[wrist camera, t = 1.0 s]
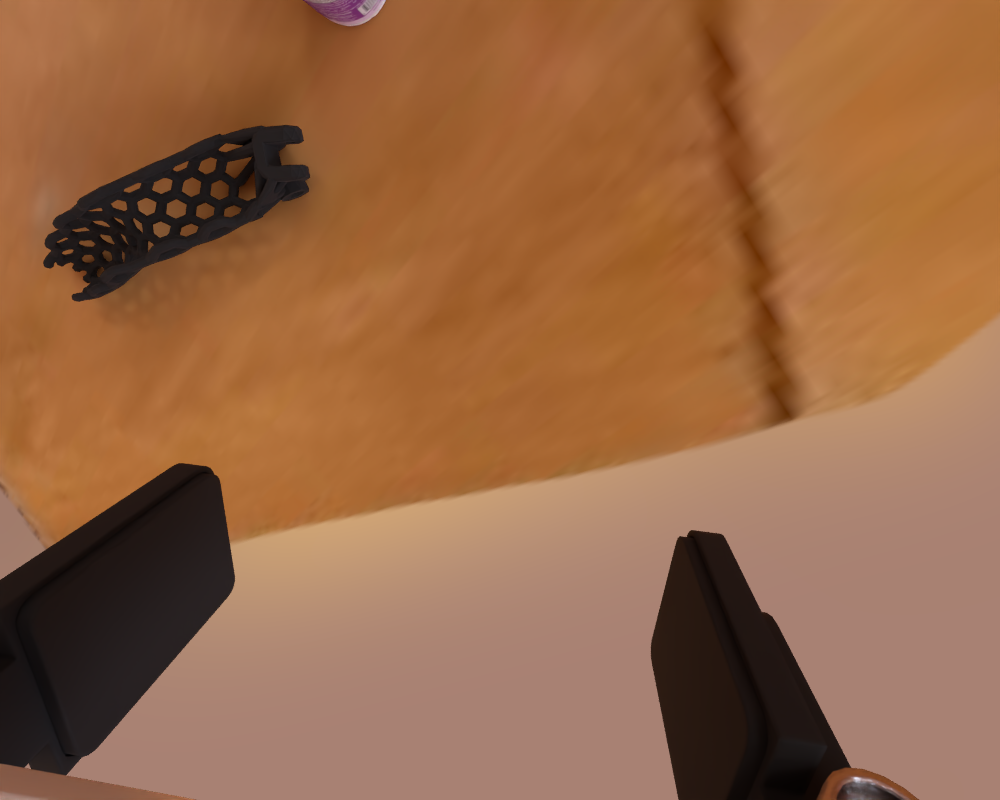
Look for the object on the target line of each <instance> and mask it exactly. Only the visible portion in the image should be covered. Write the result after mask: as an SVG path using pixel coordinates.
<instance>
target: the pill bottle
mask: <svg viewBox="0 0 1000 800" xmlns="http://www.w3.org/2000/svg"><path fill="white" fill-rule="evenodd" d="M303 1H305V2H306V3H307V4H309V5H310V6H311V7H312V8H314V9H315V10H316V11H317V12H319V13H320V14H322V15H323V16H325V17H326V18H328V19H329V20H331V21H333V22H335V23H337V24H341V25H345V26H356V25H361V24H363V23H365V22H367V21H369V20H370V19H371V18H372V17H374V16H376V15H377V14H378V12H379V11H380V9H381V8H382V6H383V5H384V3H385V1H386V0H303Z"/></svg>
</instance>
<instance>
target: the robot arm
mask: <svg viewBox="0 0 1000 800" xmlns="http://www.w3.org/2000/svg"><path fill="white" fill-rule="evenodd" d="M234 582H235V575H234V568H233V562H232V555H231V549H230V542H229V536H228V529H227V523H226V516H225V510H224V504H223V497H222V491H221V484H220V480H219V478H218V476H216V475H214V473H213V471H212V470H211V468H209V467H207V466H200V465H192V464H184V463H178V464H176V465H174V466H172V467H171V468H169V469H168V470H166V471H165V472H163V473H162V474H160V475H159V476H157V477H156V478H154V479H153V480H151V481H150V482H148V483H147V484H145V485H143V486H142V487H140V488H139V489H137V490H136V491H134V492H133V493H131V494H130V495H128V496H127V497H125V498H124V499H122V500H121V501H119V502H118V503H116V504H115V505H113V506H112V507H110V508H109V509H107V510H106V511H104V512H103V513H101V514H99V515H98V516H96V517H95V518H93V519H92V520H90V521H89V522H87V523H86V524H84V525H83V526H81V527H80V528H78V529H77V530H75V531H74V532H72V533H71V534H69V535H68V536H66V537H65V538H63V539H62V540H60V541H59V542H57V543H55V544H54V545H52V546H51V547H49V548H48V549H46V550H45V551H43V552H42V553H40V554H39V555H37V556H36V557H34V558H33V559H31V560H30V561H28V562H27V563H25V564H24V565H22V566H21V567H19V568H18V569H16V570H15V571H13V572H11V573H10V574H8V575H7V576H5V577H4V578H2V579H1V580H0V800H194V799H189V798H184V797H179V796H173V795H168V794H163V793H158V792H152V791H147V790H141V789H136V788H131V787H125V786H120V785H114V784H109V783H103V782H97V781H92V780H87V779H81V778H77V777H71V776H66V775H67V774H68V772H69V771H70V770H71V769H72V768H73V767H74V766H75V764H76V763H77V762H78V761H79V760H80V759H81V758H82V757H84V756H87V755H89V754H90V753H92V752H93V751H95V750H96V749H97V748H98V747H99V745H100V744H101V743H102V742H103V741H104V740H105V739H106V737H107V736H108V735H109V734H110V733H111V731H112V730H113V729H114V728H115V727H116V726H117V725H118V724H119V722H120V721H121V720H122V719H123V718H124V717H125V715H126V714H127V713H128V712H129V710H131V708H132V707H133V706H134V705H135V704H136V703H137V702H138V700H139V699H140V698H141V697H142V696H143V695H144V693H145V692H146V691H147V690H148V689H149V688H150V686H151V685H152V684H153V683H154V682H155V681H156V680H157V678H158V677H159V676H160V675H161V674H162V673H163V671H164V670H165V669H166V668H167V667H168V666H169V664H170V663H171V662H172V661H173V660H174V659H175V658H176V656H177V655H178V654H179V653H180V652H181V651H182V649H183V648H184V647H185V646H186V645H187V643H188V642H189V641H190V640H191V639H192V638H193V637H194V636H195V634H196V633H197V632H198V631H199V630H200V629H201V627H202V626H203V625H204V624H205V623H206V622H207V621H208V619H209V618H210V617H211V616H212V615H213V614H214V612H215V611H216V610H217V609H218V608H219V607H220V605H221V604H222V603H223V602H224V601H225V600H226V599H227V597H228V596H229V595H230V593H231V591H232V589H233V586H234ZM651 660H652V666H653V671H654V676H655V681H656V686H657V691H658V697H659V702H660V707H661V712H662V716H663V722H664V727H665V732H666V738H667V743H668V748H669V753H670V758H671V763H672V768H673V773H674V779H675V784H676V789H677V794H678V799H679V800H919V799H917V798H916V797H915V796H913V795H912V794H911V793H910V792H908V791H907V790H906V789H905V788H903V787H901V786H900V785H898V784H896V783H894V782H893V781H891V780H889V779H887V778H886V777H884V776H881V775H879V774H876V773H873V772H870V771H867V770H864V769H857V768H851V767H850V765H849V763H848V761H847V759H846V757H845V755H844V753H843V751H842V749H841V747H840V745H839V743H838V741H837V739H836V737H835V736H834V734H833V732H832V730H831V728H830V726H829V724H828V722H827V720H826V718H825V716H824V714H823V712H822V710H821V709H820V706H819V705H818V703H817V701H816V699H815V697H814V695H813V693H812V691H811V689H810V687H809V685H808V683H807V681H806V679H805V677H804V675H803V673H802V671H801V670H800V668H799V666H798V664H797V662H796V660H795V658H794V656H793V654H792V652H791V650H790V648H789V646H788V644H787V642H786V640H785V638H784V637H783V635H782V633H781V631H780V629H779V627H778V625H777V623H776V622H775V620H774V619H773V617H772V616H770V615H769V614H768V613H765V612H761V610H760V608H759V606H758V604H757V602H756V600H755V598H754V596H753V594H752V592H751V590H750V588H749V586H748V584H747V582H746V579H745V578H744V576H743V573H742V571H741V569H740V567H739V565H738V563H737V561H736V559H735V557H734V555H733V553H732V551H731V549H730V547H729V545H728V543H727V541H726V539H725V538H724V536H723V535H722V534H717V533H709V532H701V531H694V530H691V531H690V532H689V533H688V535H687V537H681V536H680V537H679V538H678V540H677V542H676V546H675V549H674V553H673V557H672V561H671V565H670V570H669V573H668V577H667V581H666V585H665V590H664V593H663V597H662V601H661V606H660V609H659V613H658V617H657V622H656V625H655V630H654V634H653V637H652V643H651ZM28 763H29V765H30V767H31V769H28V768H24V767H25V766H26V765H27V764H28Z"/></svg>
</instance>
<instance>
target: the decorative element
mask: <svg viewBox="0 0 1000 800" xmlns="http://www.w3.org/2000/svg"><path fill="white" fill-rule="evenodd" d="M303 141H304V139H303V135H302V130H301V129H300V128H299V127H298V126H290V125H282V126H270V127H264V126H257V127H251V128H246V129H242V130H239V131H235V132H232V133H229V134H226V135H221V134H218V135H215V136H212V137H210V138H207V139H204V140H202V141H200V142H198V143H196V144H194V145H192V146H190V147H188V148H186V149H185V150H183V151H181V152H178V153H176V154H174V155H172V156H170V157H167V158H165V159H162V160H160V161H157V162H155V163H152V164H150V165H148V166H146V167H144V168H141V169H139V170H137V171H135V172H133V173H131V174H129V175H127V176H124V177H122V178H120V179H118V180H116V181H113V182H111V183H109V184H106V185H104V186H101V187H99V188H98V189H96V190H94V191H92V192H90V193H89V194H87V195H85V196H83V197H82V198H80V199H79V200H78V201H77V204H76V205H75V206H74V207H73V208H72V209H70V210H69V211H67V212H65V213H63V214H61V215H59V216H57V217H56V218H55V219H54V221H53V223H52V224H53V225H54V227H55V228H57V229H58V230H56V231H55V232H53V233H51V234H49V235H48V236H47V238H46V239H45V246H46V247H47V248H48V249H50V250H51V252H50V253H49V254H48V255H47V256H46V258H45V260H44V262H43V264H44V266H45V267H46V268H52V267H53V266H54V263H55V262H56V263H57V265H60V266H64V265H65V264H67V263H70V262H72V263H74V265H73V267H72V268H73V269H74V270H75V271H77V272H80V271H82V270H85V271H86V272H87V273H86V275H85V276H83V280H84V281H85V282H87V283H90V284H89V285H88V286H87V287H85V288H84V289H83V291H82V292H81V293H76V294H73V295H72V300H74V301H79V302H80V301H84V300H90V299H95V298H99V297H101V296H103V295H106V294H108V293H110V292H112V291H114V290H116V289H117V288H119V287H121V286H122V285H124V284H125V283H126V282H127V281H128V280H129V279H130V278H132V277H133V276H134V275H135V274H137V273H138V272H139V271H140V270H141V269H142V268H144V267H146V266H148V265H151V264H154V263H157V262H160V261H163V260H166V259H169V258H172V257H175V256H177V255H179V254H181V253H184V252H186V251H187V250H189V249H190V248H192V247H194V246H197V245H200V244H203V243H206V242H209V241H212V240H215V239H217V238H219V237H222V236H224V235H226V234H228V233H230V232H232V231H234V230H235V229H237V228H239V227H240V226H242V225H244V224H246V223H248V222H251V221H255V220H257V219H259V218H262V217H263V215H264V214H265V213H266V212H268V211H269V210H270V209H271V208H272V207H273V206H275V205H276V204H277V203H278V202H279V201H280V200H282V201H289V200H292V199H295V198H298V197H301V196H302V195H304V194H306V193H307V192H309V188H308V186H307V184H306V182H305V181H306V180H307V179H308V178H310V174H309V169H308V167H307V166H305V165H283V166H282V165H281V161H280V157H279V152H278V151H280V150H281V149H283V148H284V147H285V146H286V145H287V144H299V143H301V142H303ZM225 143H229V144H236V145H243V146H242V147H239V148H236V149H234V150H231V151H228V152H221V151H219V150H218V149H219V148H220V147H221V146H223V145H224V144H225ZM210 157H212V158H214V159H217V162H216V168H215V170H214V171H213V172H211V173H209V174H204V173H203V172H201V171H199V170H198V169H199V166H200V163H201V161H203V160H205V159H207V158H210ZM249 157H252V158H251V160H250V161H249V162H248V164H247V165H246V166H245V168H244V169H243V170H242V172H241V173H240V174H239V176H238V177H237V178H235V179H234V178H233V177H231V176H230V175H228V174H227V173H225V171H226V166H227V162H230V161H235V160H239V159H244V158H249ZM186 161H189V162H188V165H187V168H185V169H183V170H180V171H177V172H176V171H174V170H173V168H174V167H175V166H177V165H179V164H182V163H184V162H186ZM253 172H255V187H256V198H253V199H251V200H249V201H246V200H243V199H241V198H239V197H238V195H239V187H241V186H242V185H244V184H245V183H246V181H247V180H248V178H249V177H250V176H251V174H252V173H253ZM191 177H193V178H195V179H197V180H199V181H201V188H200V194H198V195H195V196H193V197H190V196H188V195H187V194H185V193H183V192H182V187H183V182H184V181H185V180H187V179H189V178H191ZM162 178H168V179H171V180H173V181H172V187H171V190H169V191H167V192H165V193H163V194H160V193H157V192H155V191H153V190H152V188H153V185H154V182H156V181H158V180H160V179H162ZM218 180H222V181H223V182H225V183H226V184H228V185H229V196H228V197H226V198H223V199H221V200H218V199H216V198H214V197H213V196H211V195H210V193H211V184H212V183H214V182H216V181H218ZM136 183H141V186H140V189H137V190H135V191H133V192H131V193H128V192H124V189H126V188H128V187H130V186H132V185H134V184H136ZM144 198H149V199H151V200H153V201H155V202H157V203H156V209H155V213H153V214H150V215H148V216H146V215H145V214H143V213H141V212H140V211H139V210H138V204H137V202H138V201H140V200H142V199H144ZM175 199H178V200H179V201H181V202H183V203H185V204H187V207H186V215H184V216H182V217H179V218H177V219H175V218H173V217H171V216H169V215H167V214H166V209H167V203H169V202H171V201H173V200H175ZM116 200H121V201H125V202H126V203H127V210H126V211H122V210H119V209H116V208H113V207H112V205H111V203H113V202H114V201H116ZM205 202H206V203H207V204H209V205H211V206H213V207H215V209H214V215H213V216H211V217H209V218H207V219H205V220H204V219H202V218H199V217H197V216H196V209H197V206H198V205H201V204H203V203H205ZM233 205H235V206H237V207H240V208H242V209H241V212H240V213H239V214H237V215H235V216H233V217H230V218H229V217H225V216H224V211H225V209H226V208H228V207H230V206H233ZM96 208H102V211H88V210H92V209H96ZM114 217H115V218H118V219H121V220H122V221H123V223H124V225H125V226H124V225H122V224H121V223H119V222H118V221H117V220H116V219H115V218H114ZM77 218H78V219H77ZM133 218H135V219H136V220H138V221H139V222H141V223H142V228H143V233H142V232H141V231H140V230H139V229H138V228H137V227H136V225H135V223H134V221H133ZM93 221H104V222H106V223H107V224H108V225H109V226H110V227H106V226H102V225H98V224H96V223H94V222H93ZM160 221H161V222H163V223H166V224H168V225H170V226H171V227H170V232H169V234H168V235H167V236H164V237H161V238H159V237H158V236H157V235H155V234H154V231H153V224H156V223H158V222H160ZM189 224H193V225H196V226H198V227H199V228H198V230H197V232H196V233H194V234H192V235H189V236H187V237H185V236H181V235H180V232H181V228H182V227H184V226H186V225H189ZM84 227H86V228H87V229H89V231H82V232H75V231H72V230H74V229H79V228H84ZM120 233H121V234H123V235H124V236H125V237H126V240H127V242H128V244H127V243H126V242H125V241H124V240H123V238H122V236H121V234H120ZM100 234H102V235H108V236H111V238H112V240H113V241H114V243H115V244H111V243H108V242H106V241H105V240H103V239H102V238H101V237H100ZM65 237H66V238H68V239H67V240H65V241H63V242H60V243H56V242H57V241H59V240H61V239H63V238H65ZM86 240H92V241H93V242H94V243H95V244H96V245H95V246H94V247H87V246H83V245H80V244H79V242H80V241H86ZM148 241H150V242H151V243H153V244H154V246H152V247H151V249H150V250H149V252H148ZM68 249H73V250H74V251H73V252H72V253H71V254H67V255H64V254H62V252H63V251H65V250H68ZM104 250H106V251H109V252H110V253H111V254H112V261H110V262H109V261H107V260H106V259H105V258H104V257H103V254H102V252H103V251H104ZM122 251H123V252H124V253H125V262H123V259H122ZM84 255H92V256H93V257H94V259H95V261H93V262H92V263H86V262H84V261H82V257H83V256H84ZM101 267H103V268H104V270H105V271H104V272H103V273H102V274H101V275H100V277H98V276H97V271H98V269H100V268H101Z"/></svg>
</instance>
